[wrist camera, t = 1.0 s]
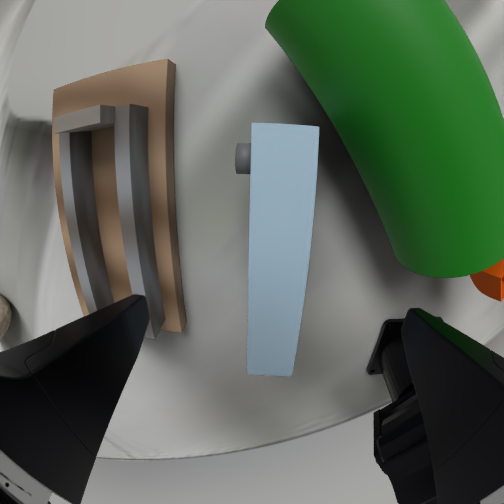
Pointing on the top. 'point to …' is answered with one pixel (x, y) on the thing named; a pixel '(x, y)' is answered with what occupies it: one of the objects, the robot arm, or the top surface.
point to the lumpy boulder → (4, 316)
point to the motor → (410, 125)
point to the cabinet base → (120, 189)
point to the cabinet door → (278, 239)
